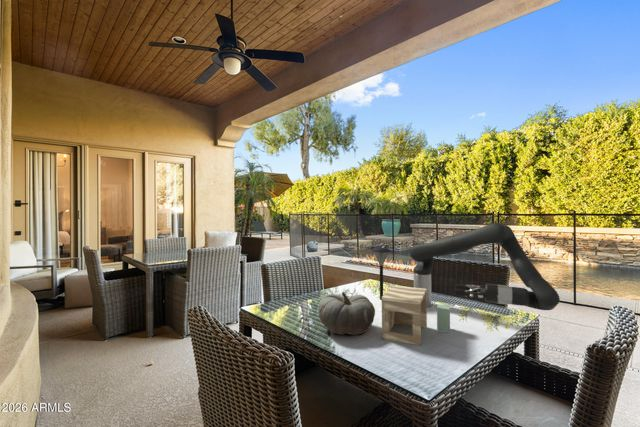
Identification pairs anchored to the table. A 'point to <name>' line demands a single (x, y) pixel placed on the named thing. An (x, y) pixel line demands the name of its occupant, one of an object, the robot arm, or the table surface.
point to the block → (443, 318)
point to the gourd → (346, 313)
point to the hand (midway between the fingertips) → (455, 289)
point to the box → (404, 313)
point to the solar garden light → (381, 263)
